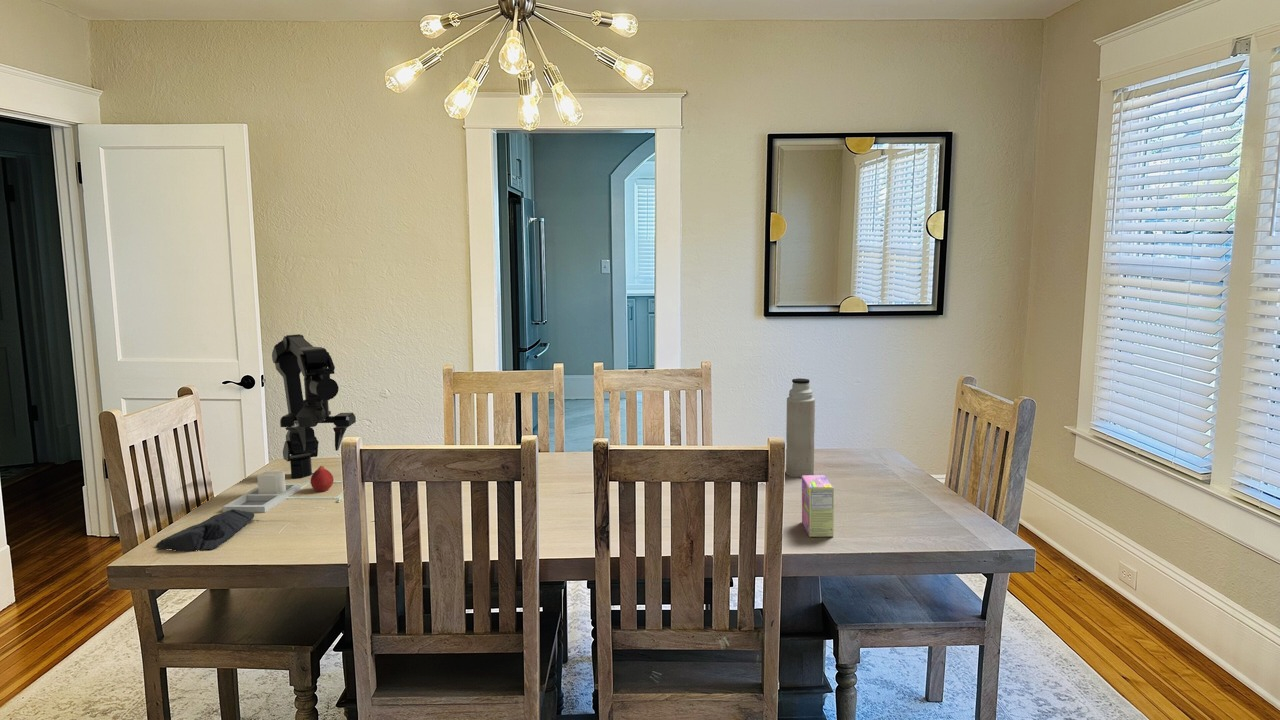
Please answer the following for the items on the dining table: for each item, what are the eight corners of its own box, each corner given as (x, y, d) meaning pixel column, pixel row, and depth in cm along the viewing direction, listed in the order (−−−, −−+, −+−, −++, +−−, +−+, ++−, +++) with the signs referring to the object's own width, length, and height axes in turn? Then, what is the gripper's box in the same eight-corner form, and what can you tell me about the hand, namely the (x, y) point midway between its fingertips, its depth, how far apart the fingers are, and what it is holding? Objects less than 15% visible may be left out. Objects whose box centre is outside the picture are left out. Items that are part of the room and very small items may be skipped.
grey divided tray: (263, 492, 225) (262, 483, 225) (301, 492, 225) (301, 483, 224) (223, 516, 205) (222, 506, 205) (265, 516, 205) (264, 506, 205)
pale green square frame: (307, 485, 232) (307, 481, 232) (362, 485, 231) (362, 480, 231) (280, 502, 216) (280, 498, 216) (339, 502, 215) (338, 498, 215)
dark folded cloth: (266, 521, 203) (265, 503, 202) (211, 554, 181) (209, 534, 180) (209, 520, 204) (208, 502, 204) (148, 552, 183) (146, 532, 182)
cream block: (268, 492, 222) (266, 470, 221) (286, 492, 222) (284, 470, 221) (259, 497, 217) (257, 476, 216) (277, 497, 217) (275, 476, 216)
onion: (319, 498, 219) (317, 469, 218) (307, 494, 223) (305, 466, 222) (338, 492, 224) (336, 464, 223) (326, 489, 227) (324, 461, 226)
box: (800, 522, 195) (801, 474, 193) (824, 522, 194) (825, 474, 193) (808, 537, 184) (809, 487, 183) (833, 537, 184) (834, 487, 183)
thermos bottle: (810, 469, 240) (812, 376, 236) (816, 477, 232) (817, 381, 228) (783, 469, 240) (784, 377, 236) (788, 477, 232) (789, 381, 228)
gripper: (268, 400, 211) (272, 458, 213) (338, 400, 211) (342, 458, 213) (287, 392, 222) (291, 448, 224) (354, 392, 222) (358, 447, 224)
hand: (320, 450), depth 221 cm, fingers open, 9 cm apart
